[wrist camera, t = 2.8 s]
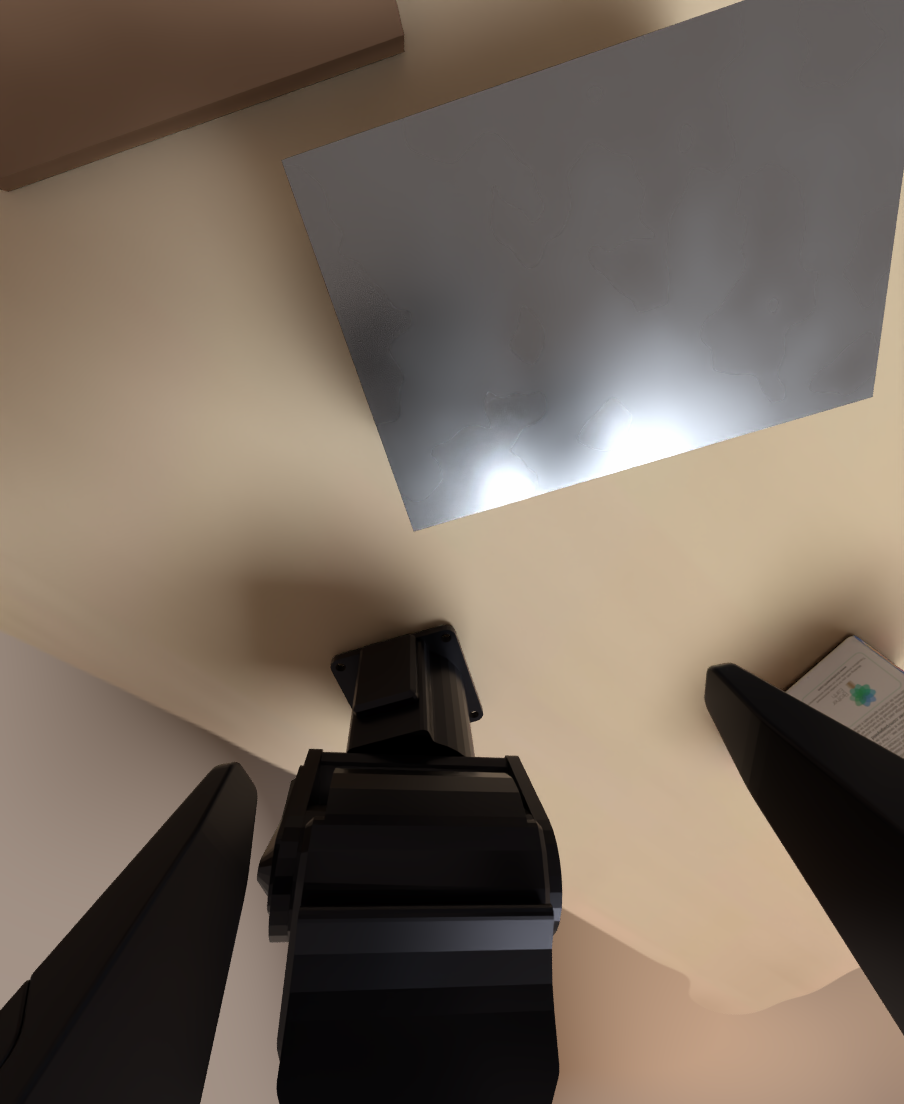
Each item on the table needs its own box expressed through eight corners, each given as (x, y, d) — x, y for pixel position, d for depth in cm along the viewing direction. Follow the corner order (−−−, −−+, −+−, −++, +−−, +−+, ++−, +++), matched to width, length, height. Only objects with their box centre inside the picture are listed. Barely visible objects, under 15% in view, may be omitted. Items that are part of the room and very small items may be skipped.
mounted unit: (711, 374, 19) (889, 414, 12) (405, 467, 20) (403, 555, 13) (706, 82, 15) (972, -119, 8) (318, 212, 16) (243, 135, 9)
